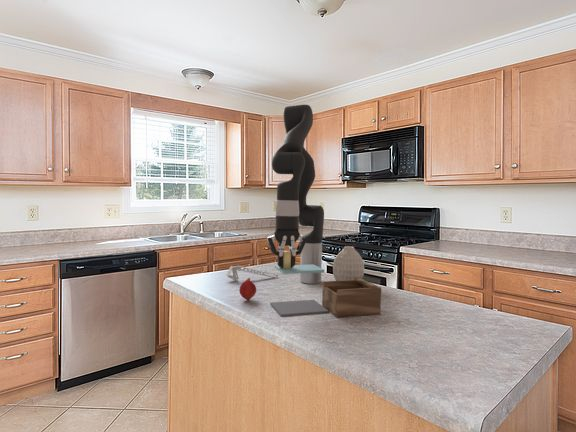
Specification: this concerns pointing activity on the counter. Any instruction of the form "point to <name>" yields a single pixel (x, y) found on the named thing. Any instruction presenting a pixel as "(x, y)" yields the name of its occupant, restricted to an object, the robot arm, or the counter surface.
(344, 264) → the vase
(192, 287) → the counter surface
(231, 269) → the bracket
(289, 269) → the thin pale-blue panel
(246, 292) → the red oval lump
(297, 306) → the mat
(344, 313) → the box
